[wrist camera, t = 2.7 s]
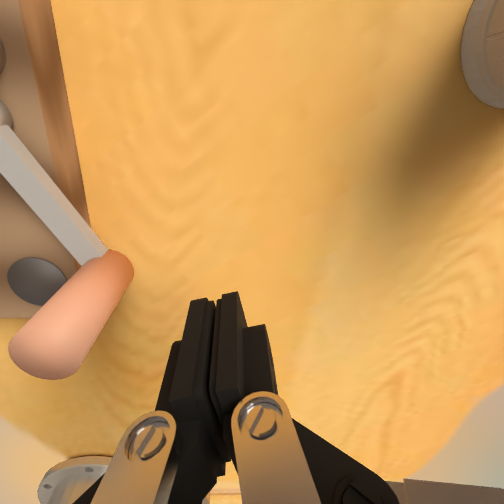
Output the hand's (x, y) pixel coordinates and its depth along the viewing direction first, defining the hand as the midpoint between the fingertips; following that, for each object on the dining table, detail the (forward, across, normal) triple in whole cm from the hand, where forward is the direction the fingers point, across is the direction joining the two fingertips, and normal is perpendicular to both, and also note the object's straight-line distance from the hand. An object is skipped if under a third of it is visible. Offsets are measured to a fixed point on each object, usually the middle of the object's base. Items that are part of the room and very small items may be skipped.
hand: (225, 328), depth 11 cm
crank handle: (+9, +9, -4) cm, 13 cm away
